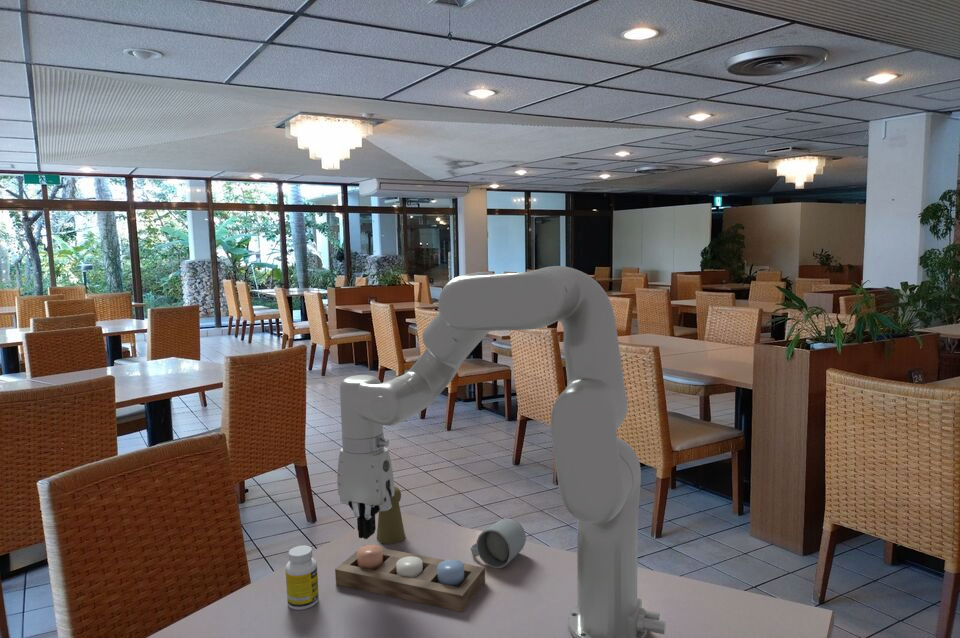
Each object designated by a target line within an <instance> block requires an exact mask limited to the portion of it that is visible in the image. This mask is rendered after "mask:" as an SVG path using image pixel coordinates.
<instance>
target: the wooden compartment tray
mask: <svg viewBox="0 0 960 638" xmlns="http://www.w3.org/2000/svg"><path fill="white" fill-rule="evenodd" d="M366 545H367V544H364V545H363V546H366ZM382 549H383V564H381V565H380V566H379V567H378V568H377V569H376V570H371V569H366V568H361V567H358V562H357V551H356V552H355V551H354V553H353V554H352V555H350V557H348V558H347V559H345V560H344V561H343V562H342V563H340V564H339V566H337V567H336V568H335V569H334V573H335V576H334V577H335V584H336V585H338V586H342V587H343V586H344V587H348V588H352V589H356V590H360V591H365V592H370V593H374V594H379V595H383V596H388V597H393V598H398V599H401V600H404V601H405V600H406V601H411V602H415V603H419V604H424V605H428V606H433V607H438V608H443V609H447V610H452V611H456V612H461V613H464V611H466V609H467V607H468V606H469V605H470V603H471V602H472V601H473V599H475V597H476V595H478V592H479V591H480V590H481V589H482V588H483V586H484V585H485V583H486V570H485V569H486V568H485V567H484V566H479V565H473V564H469V563H463V564H464V581H463V583H462V584H461V585H460V586H459V587H454V586H449V585H444V584H439V583H438V572H437V566H438V564H439V563H440V562H442V561H445V560H446V559H441V558H436V557H431V556H426V555H421V554H414V553H409V552H404V551H401V550H400V551H399V550H394V549H387V548H382ZM409 556H414V557H418V558H420V559H421V560H422V566H423V572H422V573H421V574H420V575H419V576H418V577H417V578H416V579H415V578H410V577H405V576H400V575H397V569H396V563H397V561H398V560H399V559H401V558H404V557H409Z"/></svg>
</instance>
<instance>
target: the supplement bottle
mask: <svg viewBox="0 0 960 638" xmlns="http://www.w3.org/2000/svg"><path fill="white" fill-rule="evenodd" d="M317 565H318V563H317V561H316V559H315V558H313V548H312V547H311V546H309V545H304V544H303V545H298V546H294V547H292V548H291V549H289V550H288V562H287V563H286V565H285V581H286V599H287V606H288V607H289V608H291V609H293V610H294V611H295V610H296V611H300V610H306V609H311V608H313V606H315V605H317V603H318V601H319V596H320V595H319V577H318V576H319V574H318V566H317Z"/></svg>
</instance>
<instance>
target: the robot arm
mask: <svg viewBox="0 0 960 638" xmlns="http://www.w3.org/2000/svg"><path fill="white" fill-rule="evenodd" d="M438 297H439V298H438V311H439V312H438V313H437V314H436V315H435V317H433V319H432V320H431V321H430V322H429V324H427V326H426V327H425V328H424V330H423V331H422V334H421V335H422V342H423V344H424V347H425V348H424V349H425V350H424V351H423V352H422V354H421V356H419V358H418V359H417V360H416V362H415V363H414V364H413V365H412V366H411V367H410V368H409V370H408V371H407V372H405V373H404V374H402V375H399V376H397V377H395V378H392V379H390V380H387V381H383V382H381V381H380V379H379V378H378V377H376V376H375V375H371V374H370V375H369V374H358V375H351V376H347V377H346V378H344V379H342V381H341V382H340V385H339V400H340V401H339V402H340V403H339V404H340V417H341V418H340V423H341V425H340V426H341V442H342V444H341V445H342V447H341V448H340V450H339V455H338V459H337V460H338V461H337V473H336V474H337V479H336V482H337V485H336V486H337V494H338V497H339V501H340V503H342V504H344V505H346V506H349V508H350V509H351V511H352V512H353V516H354V517H355V518H356V521H357V523H356V524H357V526H356V527H357V531H358V534H357V535H358V538H359V539H364V540H368V539H369V538H371V536H373V535H374V534H375V533H376V526H377V525H376V515H378V514H379V511H388V510H389V509H390V508H391V507H392V504H391V500H390V498H391V497H393V496H394V486H395V481H394V471H393V470H394V469H393V464H392V460H391V456H390V452H389V449H388V448H387V447H389V445H390V440H389V439H386V438H385V433H384V426H386V427H387V426H388V427H389V426H396V425H399V424H400V423H402V422H404V421H405V420H407V419H409V418H411V417H412V416H414V415H416V414H418V413H420V412H422V411H423V410H425V409H427V407H429V406H430V405H431V404H432V403H433V402H434V401H435V400H436V399H437V398H438V397H439V396H440V394H441V393H442V392H443V391H444V390H445V389H446V388H447V386H449V384H450V383H451V382H452V381H453V379H454V378H455V376H456V375H457V373H458V371H459V369H460V368H461V365H462V363H463V362H464V361H465V359H466V358H467V357H468V356H469V355H470V354H471V353H472V352H473V351H474V349H475V348H476V347H477V346H478V345H479V343H481V342H482V341H483V339H484V338H485V337H486V336H487V335H488V334H489V332H495V331H496V332H497V331H499V332H500V331H524V330H525V331H527V330H528V331H529V330H536V329H542V328H546V327H548V326H551V325H552V324H555V323H556V322H558V321H559V322H560V323H561V326H562V328H563V341H562V342H563V356H564V362H565V370H566V380H567V381H566V382H567V383H566V384H567V387H566V388H565V389H564V390H563V391H562V392H561V393H560V394H559V395H558V396H557V398H556V400H555V401H554V403H553V406H552V409H551V414H550V416H551V417H550V433H551V439H552V440H551V441H552V447H553V449H552V450H553V454H554V455H553V456H554V463H555V470H556V477H557V478H556V479H557V484H558V491H559V493H560V497H561V501H562V503H563V505H564V507H565V508H566V509H567V511H568V512H569V514H571V515H572V517H574V519H576V530H577V531H576V568H577V569H576V572H577V573H576V574H577V575H576V577H577V578H576V579H577V581H576V584H577V587H576V588H577V593H576V594H577V606H576V607H574V608H573V609H572V610H571V611H570V613H569V615H568V617H567V618H568V622H567V623H568V630H569V633H570V634H571V635H572V637H573V638H646V637H647V634H648V632H652V633H655V634H658V635H659V634H660V635H665V634H666V628H667V627H666V626H667V625H666V620H661V619H660V618H661V614H660V612H657V611H656V612H655V611H649V610H646V609H645V608H644V607H643V601H642V598H638V570H639V569H638V566H639V565H638V561H639V560H638V558H639V557H638V554H639V553H638V551H639V550H638V548H639V547H638V546H639V545H638V542H639V509H640V507H639V506H640V496H641V494H640V493H641V483H642V482H641V481H642V480H641V478H642V471H641V470H642V469H641V464H640V460H639V457H638V455H637V452H635V449H633V447H632V446H631V445H630V444H629V443H627V442H626V441H624V440H623V439H621V438H619V437H618V434H617V431H618V429H619V428H620V427H621V425H622V424H623V422H624V421H625V419H626V416H627V414H628V408H629V407H628V398H627V392H626V387H625V380H624V372H623V365H622V364H623V363H622V357H621V356H622V355H621V352H620V350H621V349H620V345H619V336H618V329H617V323H616V322H617V321H616V318H615V317H616V316H615V313H614V308H613V305H612V303H611V300H610V298H609V295H608V294H607V293H606V291H605V290H604V288H603V287H602V286H601V285H600V283H599V282H598V281H596V279H594V278H593V276H591V275H589V274H588V273H585V272H583V271H581V270H578V269H577V268H573V267H569V266H566V265H565V266H564V265H553V266H546V267H542V268H541V267H540V268H538V269H534V270H529V271H522V272H520V271H519V272H512V273H511V272H510V273H498V274H496V273H493V272H489V271H476V272H472V273H467V274H461V275H458V276H455V277H454V278H452V279H451V280H449V281H448V282H447V283H446V284H445V285H444V287H442V290H441V291H440V293H439V296H438Z"/></svg>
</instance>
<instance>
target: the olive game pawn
mask: <svg viewBox="0 0 960 638" xmlns="http://www.w3.org/2000/svg"><path fill="white" fill-rule="evenodd" d="M401 499H402V492H401V489H400V488H399V487H398V486H396V485H394V496H393V497H391V498H390V500H391V504H392V507H391V508H390V509H389V510H388V511H379V512H378V518H377V530H376V531H377V532H376V541H377V542H379V543H381V544H387V545H389V544H390V545H391V544H396V543H400V542H402V541H403V540H404V539H405V537H406V534H405V528H404V523H403V519H402V512H401V507H400V501H401Z"/></svg>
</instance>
